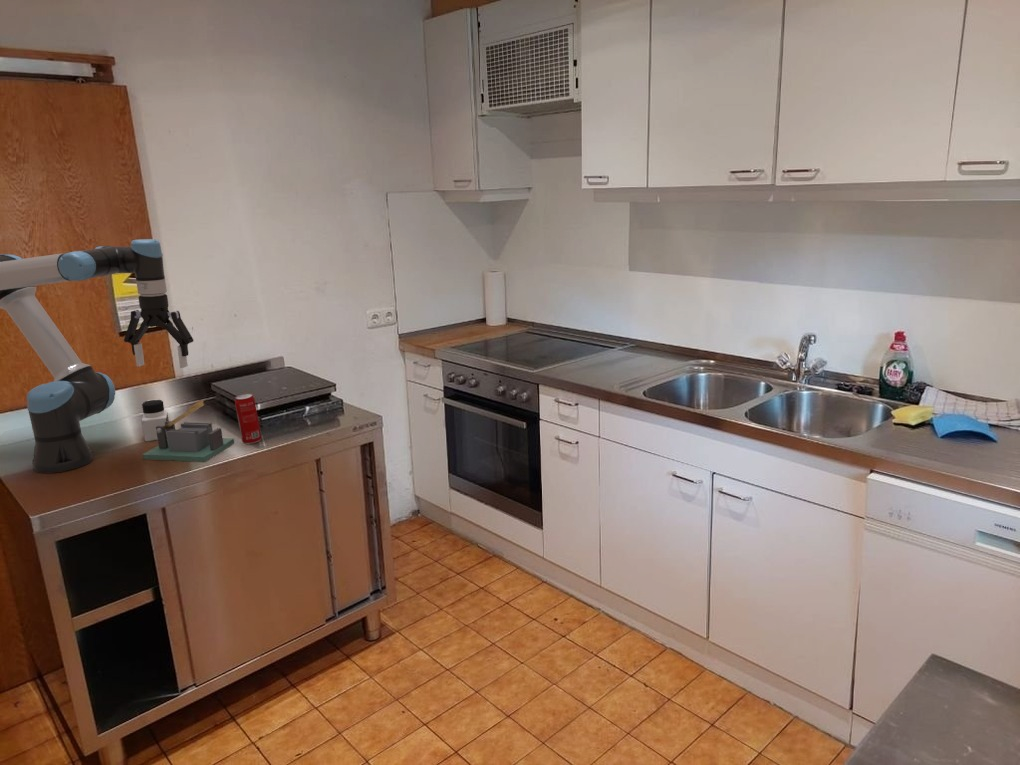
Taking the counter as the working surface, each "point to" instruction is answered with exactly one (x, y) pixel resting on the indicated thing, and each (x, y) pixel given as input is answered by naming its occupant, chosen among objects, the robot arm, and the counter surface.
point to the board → (183, 455)
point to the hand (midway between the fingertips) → (162, 366)
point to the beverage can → (247, 418)
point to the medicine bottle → (153, 418)
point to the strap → (186, 413)
